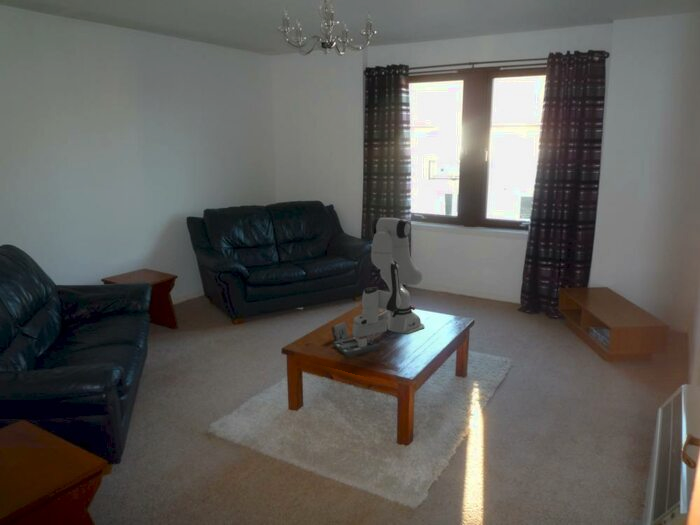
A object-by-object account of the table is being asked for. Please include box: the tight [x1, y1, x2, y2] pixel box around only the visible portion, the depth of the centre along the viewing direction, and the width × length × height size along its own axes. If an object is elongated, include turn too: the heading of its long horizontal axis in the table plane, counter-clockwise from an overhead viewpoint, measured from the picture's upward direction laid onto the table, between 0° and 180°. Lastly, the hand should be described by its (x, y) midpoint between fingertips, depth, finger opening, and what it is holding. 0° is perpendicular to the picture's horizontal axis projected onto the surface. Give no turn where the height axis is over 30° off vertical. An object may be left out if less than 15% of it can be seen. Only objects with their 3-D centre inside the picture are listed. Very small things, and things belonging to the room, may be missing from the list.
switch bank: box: [333, 336, 382, 357], centre depth 280 cm, size 20×16×3 cm
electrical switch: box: [330, 321, 349, 342], centre depth 291 cm, size 9×5×9 cm, turn 141°
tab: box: [358, 336, 367, 348], centre depth 276 cm, size 4×3×6 cm
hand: (369, 341), depth 278 cm, fingers closed
